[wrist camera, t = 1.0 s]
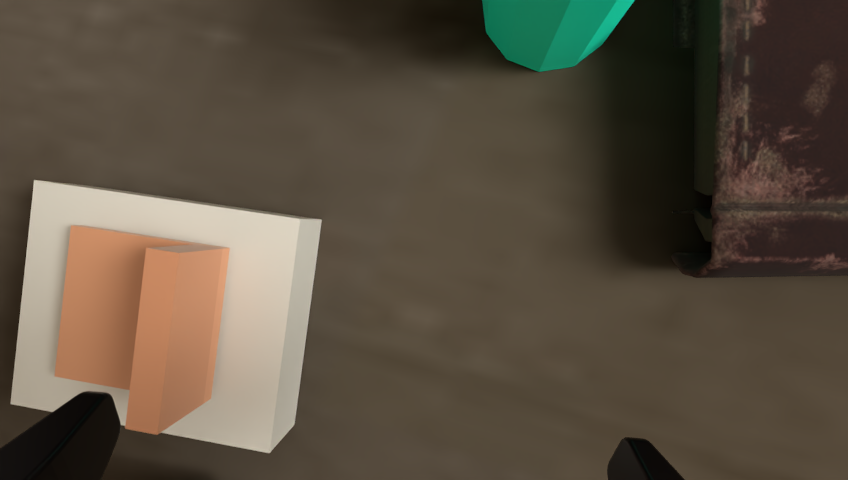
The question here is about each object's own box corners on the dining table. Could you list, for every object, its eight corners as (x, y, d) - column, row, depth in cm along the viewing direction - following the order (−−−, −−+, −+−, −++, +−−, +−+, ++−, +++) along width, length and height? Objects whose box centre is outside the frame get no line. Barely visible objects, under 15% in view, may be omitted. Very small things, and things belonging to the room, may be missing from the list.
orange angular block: (210, 398, 21) (157, 434, 17) (65, 372, 21) (-16, 401, 18) (229, 247, 21) (178, 253, 17) (82, 225, 21) (3, 225, 18)
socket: (294, 424, 24) (269, 453, 21) (65, 382, 25) (10, 403, 22) (321, 219, 24) (300, 218, 21) (87, 185, 25) (34, 179, 22)
